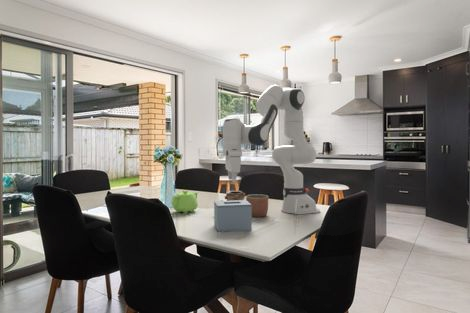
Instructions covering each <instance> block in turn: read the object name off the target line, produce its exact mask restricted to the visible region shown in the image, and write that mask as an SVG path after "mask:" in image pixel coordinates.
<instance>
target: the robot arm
mask: <svg viewBox="0 0 470 313" xmlns="http://www.w3.org/2000/svg"><path fill="white" fill-rule="evenodd" d="M304 103H305V94H304V92H303V90H302V89H300V88H297V87H296V88H295V87H294V88H286V89H285V88H284V89H283V88H282V87H281V86H280V85H279V84H278V85H277V84H273V85H270V86H268V87H267V88H266V89H265V90H264V91H263V93H261V95H259V98H258V99H257V101H256V102H255V106H256V111H257V112H258V113H259V115H261V116H262V119H261V121H260V122H259V123H255V124H246V123H244V122H242V120H241V119H240V118H239V117H230V118H226V119H224V121H223V124H222V138H223V142H222V143H223V144H222V156H225V165H224V167H225V170H226V171H227V176H228V180H229V181H232V183H237V177H238V174H239V173H240V172H241V163H242V157H243V151H242V146H245V145H246V146H259V147H260V146H264V144H266V142H267V141H268V139H269V135H270V132H271V130H272V128H273V125H274V123H275V121H276V119H277V116H278V114H279V111H280V110H282V111H283V110H284V119H283V120H284V124H283V125H284V126H283V128H284V129H283V130H284V132H283V133H284V136H285V137H286V138H287V139H289V140H291V141H293V142H294V145H278V146H275V147H274V148H273V150H272V153H271V157H272V159H273V161H274V162H275V163H276V164H277V165H278V166H279V167H280V169H281V171H282V173H283V174H282V175H283V181H284V182H283V186H284V187H283V190H282V191H283V192H282V194H283V201H282V202H283V203H282V206H281V209H280V210H281V212H283V213H287V214H288V213H289V214H295V215H307V214H317V213H321V209H319V208H318V207H317V204H316V200H314V199H313V198H312V197H311V196H309V195H308V193H309V192H310V189H309V188H307V187H306V188H305V187H304V174H303V173H302V172H301V171H300V170H298V169H295V167H294V165H308V164H312V163H313V164H314V162H315V160H316V158H317V151H316V149H315V148H314V147H313V146H312V145H311V143H309V142H308V140H307V139H306V136H305V128H304V112H303V107H302V106H303V105H304Z"/></svg>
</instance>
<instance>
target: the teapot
mask: <svg viewBox="0 0 470 313" xmlns="http://www.w3.org/2000/svg"><path fill="white" fill-rule="evenodd" d="M197 198H198V192H194V193H193V192H189V191H188V190H182V192H180V193H176V195H173V196H172V200H171V205H172V208H173V209H174V211H175V213H180V212H183V213H182V214H184V215H187V214H188V212H191V213H196V210H197V208H198V206H199V204H198V199H197Z"/></svg>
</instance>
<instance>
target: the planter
mask: <svg viewBox="0 0 470 313" xmlns="http://www.w3.org/2000/svg"><path fill="white" fill-rule="evenodd" d="M245 200H247V201H248V202H249V203H250V204H252V218H263V217H265V216H267V215H268V212H269V211H268V210H269V196H268V195H267V194H248V195H245Z"/></svg>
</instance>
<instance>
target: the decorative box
mask: <svg viewBox="0 0 470 313" xmlns="http://www.w3.org/2000/svg"><path fill="white" fill-rule="evenodd" d="M225 193H226V194H225V196H224V200H225V201H231V200H245V199H246V193H245V192H244V191H242V190H228V191H226V192H225Z"/></svg>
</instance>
